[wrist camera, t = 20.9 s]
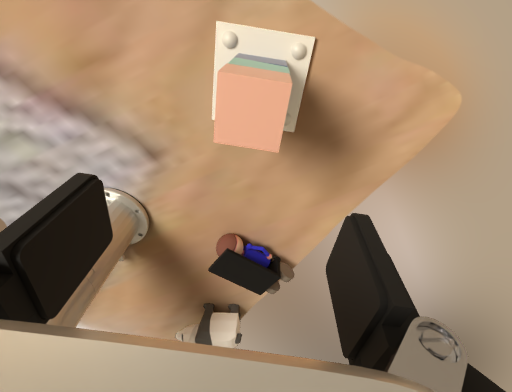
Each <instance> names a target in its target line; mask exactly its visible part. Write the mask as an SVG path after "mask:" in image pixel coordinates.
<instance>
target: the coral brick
mask: <svg viewBox="0 0 512 392" xmlns="http://www.w3.org/2000/svg"><path fill="white" fill-rule="evenodd" d="M292 84H293V83H292V80H291V77H290V73H284V72H278V71H271V70H265V69H259V68H253V67H247V66H241V65H235V64H229V63H227V64H225V65H224V66H223V67H222V68H221V69H220V70H219V71H218V74H217V91H216V108H215V125H214V143H220V144H227V145H233V146H240V147H246V148H253V149H259V150H265V151H272V152H279V147H280V143H281V138H282V133H283V128H284V123H285V118H286V113H287V108H288V103H289V98H290V94H291V89H292Z"/></svg>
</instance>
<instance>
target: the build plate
mask: <svg viewBox="0 0 512 392" xmlns="http://www.w3.org/2000/svg"><path fill="white" fill-rule="evenodd" d="M314 41H315V37H312V36H306V35H299V34H293V33H287V32H281V31H275V30H269V29H263V28H257V27H251V26H245V25H239V24H233V23H227V22H221V21H216V42H215V63H214V83H213V104H212V120H215V108H216V91H217V74H218V71H219V70H220V69H221V68H222V67H223V66H224V65H225V64H227V63H229V62H230V61H231V60H232V59H233V58H234V57H237V58H242V59H247V60H253V61H258V62H264V63H269V64H274V65H280V66H285V67H288V68H289V71H290V74H291V75H290V77H291V80H292V83H293V84H292V89H291V94H290V98H289V103H288V108H287V113H286V118H285V123H284V128H283V131H288V132H294V131H295V126H296V122H297V117H298V113H299V108H300V104H301V99H302V95H303V90H304V86H305V81H306V77H307V72H308V68H309V64H310V59H311V55H312V50H313V46H314Z"/></svg>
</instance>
